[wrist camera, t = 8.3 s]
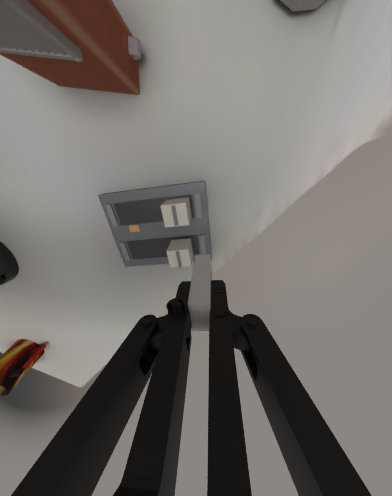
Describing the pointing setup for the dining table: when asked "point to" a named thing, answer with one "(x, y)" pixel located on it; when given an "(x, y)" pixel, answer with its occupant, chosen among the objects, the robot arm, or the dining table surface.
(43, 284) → the dining table surface
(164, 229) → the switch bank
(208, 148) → the dining table surface
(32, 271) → the dining table surface
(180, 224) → the tab front
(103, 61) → the orange rectangular box
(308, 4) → the jar
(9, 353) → the mug
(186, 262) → the tab back
